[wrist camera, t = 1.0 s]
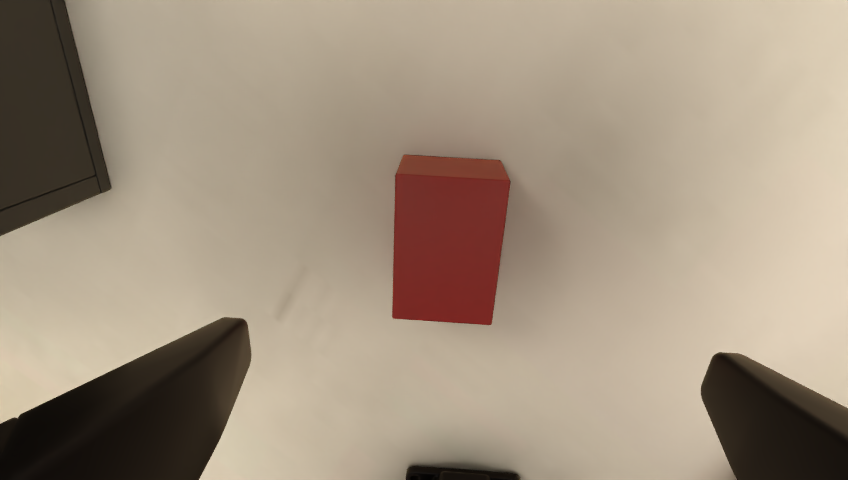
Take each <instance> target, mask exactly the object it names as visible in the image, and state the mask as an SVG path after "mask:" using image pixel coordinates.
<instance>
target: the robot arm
mask: <svg viewBox="0 0 848 480" xmlns="http://www.w3.org/2000/svg"><path fill="white" fill-rule="evenodd" d="M250 362H251V347H250V339H249V331H248V325H247V322H246V321H245V320H244V319H242V318H230V317H224V318H221V319H219V320H217V321H215V322H213V323H210V324H208V325H206V326H204V327H202V328H200V329H198V330H196V331H194V332H192V333H190V334H187V335H185V336H183V337H181V338H179V339H177V340H175V341H173V342H171V343H169V344H167V345H164V346H162V347H160V348H158V349H156V350H154V351H152V352H150V353H148V354H146V355H144V356H141V357H139V358H137V359H135V360H133V361H131V362H129V363H127V364H125V365H123V366H121V367H119V368H116V369H114V370H112V371H110V372H108V373H106V374H104V375H102V376H100V377H98V378H96V379H93V380H91V381H89V382H87V383H85V384H83V385H81V386H79V387H77V388H75V389H73V390H70V391H68V392H66V393H64V394H62V395H60V396H58V397H56V398H54V399H52V400H50V401H47V402H45V403H43V404H41V405H39V406H37V407H35V408H33V409H31V410H29V411H27V412H24V413H22V414H21V415H20V416H19V417H18V418H12V419H10V420H7V421H5V422H3V423H1V424H0V480H199V478H200V476H201V475H202V473H203V471H204V469H205V467H206V465H207V463H208V461H209V459H210V457H211V456H212V454H213V452H214V450H215V448H216V446H217V444H218V442H219V440H220V438H221V436H222V433H223V431H224V429H225V426H226V424H227V421H228V419H229V416H230V414H231V411H232V409H233V406H234V404H235V401H236V399H237V396H238V394H239V391H240V388H241V386H242V383H243V381H244V378H245V376H246V373H247V371H248V368H249V366H250ZM701 396H702V400H703V402H704V405H705V407H706V410H707V412H708V414H709V417H710V419H711V421H712V424H713V426H714V428H715V431H716V433H717V435H718V438H719V440H720V442H721V445H722V447H723V450H724V452H725V454H726V457H727V459H728V461H729V464H730V466H731V468H732V470H733V472H734V475H735V477H736V479H737V480H848V408H846V407H844V406H842V405H840V404H838V403H836V402H834V401H832V400H830V399H828V398H826V397H824V396H823V395H821V394H819V393H817V392H815V391H813V390H811V389H809V388H807V387H805V386H803V385H801V384H799V383H797V382H795V381H793V380H791V379H789V378H787V377H785V376H783V375H781V374H779V373H777V372H775V371H773V370H772V369H770V368H768V367H766V366H764V365H762V364H760V363H758V362H756V361H754V360H752V359H750V358H748V357H746V356H744V355H742V354H738V353H722V352H719V353H717V354H715V355H714V356H713V357H712V359H711V362H710V364H709V367H708V370H707V372H706V375H705V377H704V380H703V383H702V386H701ZM406 480H520V477H519V476H518V475H517V474H513V473H502V472H488V471H475V470H461V469H448V468H435V467H421V466H412V467H409V468H408V469H407V472H406Z"/></svg>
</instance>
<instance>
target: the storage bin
mask: <svg viewBox="0 0 848 480" xmlns="http://www.w3.org/2000/svg"><path fill="white" fill-rule="evenodd" d="M110 189H111V187H110V183H109V179H108V175H107V171H106V167H105V163H104V159H103V156H102V152H101V148H100V144H99V140H98V136H97V132H96V128H95V124H94V120H93V116H92V112H91V108H90V104H89V100H88V96H87V92H86V88H85V84H84V80H83V76H82V72H81V68H80V64H79V60H78V56H77V52H76V48H75V44H74V40H73V36H72V32H71V28H70V24H69V20H68V16H67V13H66V9H65V5H64V1H63V0H0V236H1V235H4V234H6V233H8V232H11V231H13V230H15V229H18V228H20V227H23V226H25V225H27V224H30V223H32V222H34V221H37V220H39V219H41V218H44V217H46V216H48V215H51V214H53V213H55V212H58V211H60V210H63V209H65V208H67V207H70V206H72V205H74V204H77V203H79V202H81V201H84V200H86V199H88V198H91V197H93V196H95V195H98V194H100V193H103V192H106V191H108V190H110Z"/></svg>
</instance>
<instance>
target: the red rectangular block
mask: <svg viewBox="0 0 848 480" xmlns="http://www.w3.org/2000/svg"><path fill="white" fill-rule="evenodd" d="M509 190H510V179H509V177H508V175H507V173H506V171H505V169H504V167H503V165H502V163H501V161H500V160H486V159H469V158H452V157H435V156H418V155H403V157H402V160H401V162H400V165H399V167H398V170H397V173H396V175H395V218H394V263H393V307H392V317H393V318H394V319H408V320H423V321H438V322H453V323H468V324H483V325H491V324H492V317H493V310H494V302H495V295H496V287H497V280H498V272H499V265H500V257H501V250H502V242H503V235H504V227H505V220H506V212H507V205H508V197H509Z"/></svg>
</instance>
